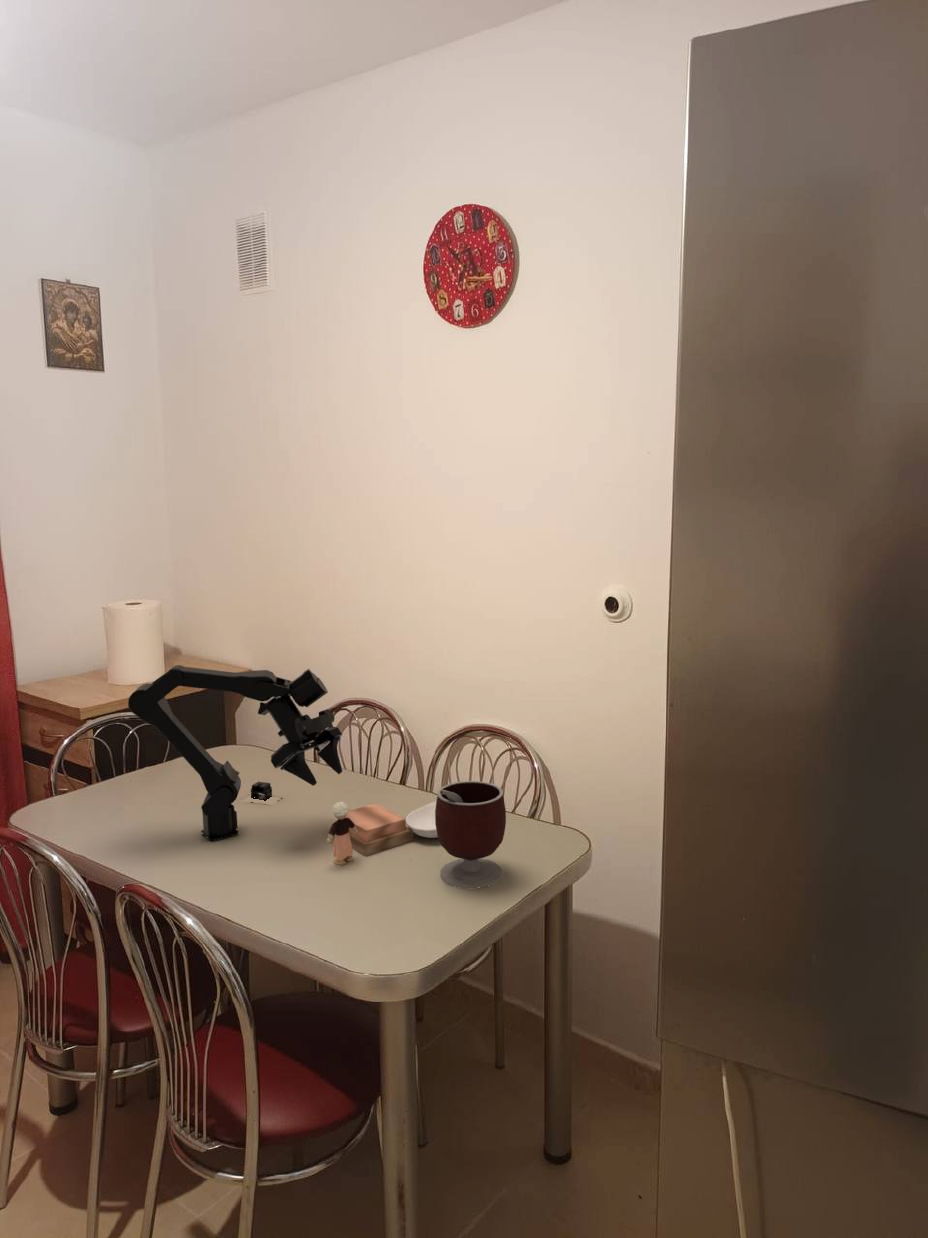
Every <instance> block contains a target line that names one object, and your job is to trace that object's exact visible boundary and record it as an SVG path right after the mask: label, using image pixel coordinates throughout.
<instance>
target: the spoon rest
mask: <svg viewBox="0 0 928 1238" xmlns="http://www.w3.org/2000/svg"><path fill="white" fill-rule="evenodd" d="M436 801H437V800H435V801H432V802H430V803H428V804H426V805H424V806H420V807H418V808H416V809H414V810H413V811H411V812H410V813H409V814H407V816H406V817H405V819H406V827H408V828H410V829H411V830H412V833H414V834H416V835H417V836H419V837H422V838H425V839H438V835H437V830H436V825H435V809H436Z"/></svg>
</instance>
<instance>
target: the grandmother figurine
mask: <svg viewBox="0 0 928 1238" xmlns="http://www.w3.org/2000/svg"><path fill="white" fill-rule="evenodd" d="M348 811H350V809H349V807H348V805H347V803H345V802H343V801H338V802H336V803H335V804H334V805H333V806H332V813H333V816H334V817H335V819H336V821H335V822H333V823H332V824H331V826H330V828H329V830H328V832H327V833H328V835H327V838H326V842H327V843H328V844H329V843H330V844H331V843H332V841H333V838H334V843H333V844H334V845H333V857H334V860H333V864H335V865H340V866H344V865H346V864H347V862H352V861H354V857H353V848H352V845H351V840H350V835H349V828H351V830H353V833H357V832H358V830H357V829H356V826H355V824H354V823H353V822H352V821H351V820H350V819H349V818H345V817H346V815H347V813H348ZM334 835H335V837H334Z"/></svg>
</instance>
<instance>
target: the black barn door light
mask: <svg viewBox="0 0 928 1238" xmlns="http://www.w3.org/2000/svg"><path fill="white" fill-rule="evenodd" d="M272 787H273V786H272V785H271V782H265V781H257V782H255V783H253V784H251V788H250V794H251V798H253V799H259V800H264V801H266V800H267V799H269V798H270V797H272V796H273V788H272ZM254 797H255V798H254Z"/></svg>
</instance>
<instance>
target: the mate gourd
mask: <svg viewBox="0 0 928 1238" xmlns="http://www.w3.org/2000/svg"><path fill="white" fill-rule="evenodd" d="M504 797H505V796H504V792H503V789H502V788H501V787H500V786H498V785H497V784H494V783H491V782H487V781H478V780H466V781H465V780H464V781H457V782H453V783H448V784H446V785H443V786H442V787H440V788H439V789H438V791H437V796H436V800H435V801H436V809H435V825H436V830H437V835H438V838H437V839H438V841H439V844H440V845H441V846H442V848H443V849H444V850H445V851H446V853H448V854H449V855H451V856H452V857H454V858H456V859H455V860H452V861H449V862H447V863H446V864H444V865H443V866H442V867H441V869H440V878H441V880H442V881H443V882H444V883H445V884H447V885H449V886H451V885H452V886H451V887H454V886H456V887H455V888H457V887H460V888H459V889H464V888H478V887H484V886H488V885H491V886H493V885H495V884H497V883H499V882H500V880H501V879H502V878H501V877H503V869H502V867H501V866H500V865H499V864H498V863H496V862H495V861H492V860H489V859H486V858H487V857H490V856H491V855H493V854H494V853H495V852H496V851H497V849H498V848H499V847H500V845H501V844H502V842H503V841H504V836H505V831H506V825H507V824H506V823H507V815H506V813H507V812H506V811H507V809H506V804H505V803H506V802H505V799H504ZM496 882H497V883H496ZM494 883H495V884H494ZM492 884H493V885H492ZM488 887H489V886H488ZM484 888H485V887H484ZM478 889H479V888H478Z"/></svg>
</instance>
